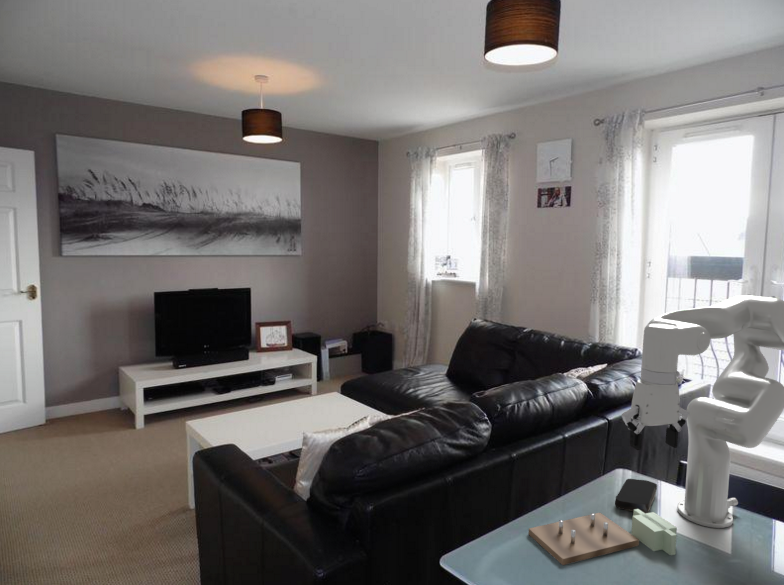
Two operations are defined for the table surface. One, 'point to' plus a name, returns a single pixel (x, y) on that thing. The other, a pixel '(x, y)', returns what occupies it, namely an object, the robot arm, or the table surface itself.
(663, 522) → the green grooved block
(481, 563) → the table surface
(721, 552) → the table surface
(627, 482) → the black sponge
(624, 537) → the pin plate
